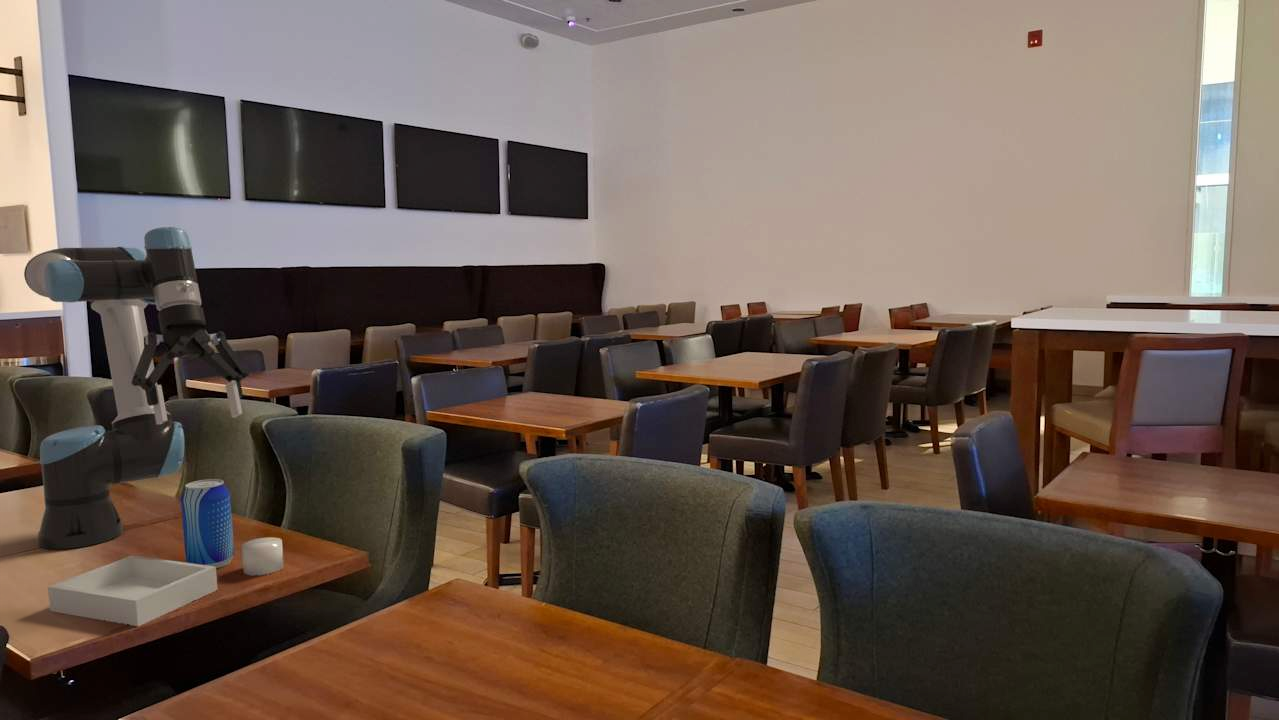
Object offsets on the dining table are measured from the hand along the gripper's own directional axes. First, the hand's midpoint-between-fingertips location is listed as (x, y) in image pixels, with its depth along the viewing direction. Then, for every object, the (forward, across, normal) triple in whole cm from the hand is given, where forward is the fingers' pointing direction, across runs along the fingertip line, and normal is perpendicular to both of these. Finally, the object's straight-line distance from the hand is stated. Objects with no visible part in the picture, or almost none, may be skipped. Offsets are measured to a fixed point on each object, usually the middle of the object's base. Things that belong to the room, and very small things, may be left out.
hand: (200, 419), depth 158 cm
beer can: (+25, +5, +16) cm, 31 cm away
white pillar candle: (+29, +9, +6) cm, 31 cm away
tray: (+29, -12, +10) cm, 33 cm away
